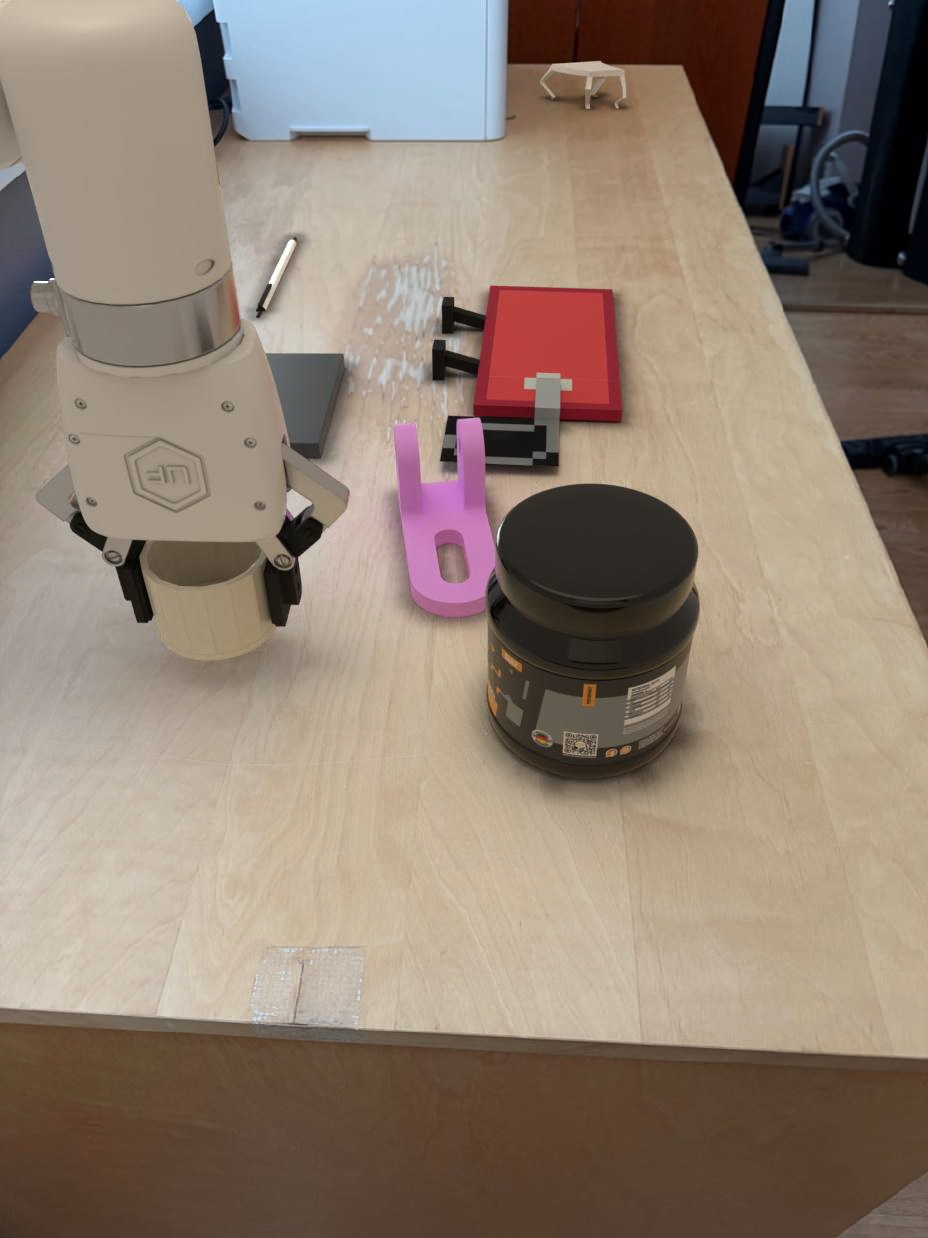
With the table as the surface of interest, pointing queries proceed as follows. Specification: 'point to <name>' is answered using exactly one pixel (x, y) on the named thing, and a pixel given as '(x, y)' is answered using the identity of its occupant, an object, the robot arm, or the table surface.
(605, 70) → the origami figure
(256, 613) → the cup
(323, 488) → the robot arm
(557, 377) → the red board with handle
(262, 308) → the pen
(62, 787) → the table surface
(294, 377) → the dark grey flat block
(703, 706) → the table surface
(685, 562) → the supplement container
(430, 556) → the bracket
